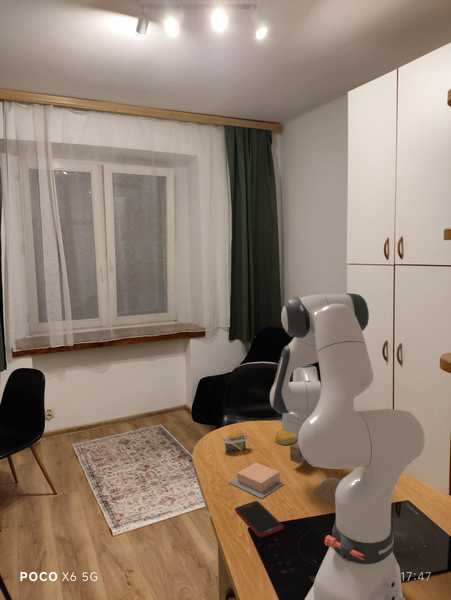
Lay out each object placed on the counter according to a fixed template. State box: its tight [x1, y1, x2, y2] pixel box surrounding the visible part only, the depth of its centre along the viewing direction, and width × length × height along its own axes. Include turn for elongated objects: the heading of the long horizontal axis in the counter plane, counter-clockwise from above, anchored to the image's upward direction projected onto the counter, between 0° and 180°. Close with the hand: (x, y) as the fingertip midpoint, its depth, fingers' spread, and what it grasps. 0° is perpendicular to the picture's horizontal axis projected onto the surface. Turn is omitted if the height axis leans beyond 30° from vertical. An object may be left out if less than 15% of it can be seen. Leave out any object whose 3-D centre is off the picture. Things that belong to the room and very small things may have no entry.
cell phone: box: [234, 500, 284, 539], centre depth 118 cm, size 8×15×1 cm, turn 26°
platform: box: [221, 432, 249, 452], centre depth 160 cm, size 12×18×7 cm, turn 105°
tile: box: [237, 462, 281, 493], centre depth 137 cm, size 3×10×9 cm
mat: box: [228, 476, 284, 500], centre depth 136 cm, size 10×14×1 cm
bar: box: [289, 441, 306, 464], centre depth 149 cm, size 16×4×5 cm, turn 134°
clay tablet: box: [313, 477, 341, 506], centre depth 129 cm, size 14×10×3 cm
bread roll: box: [274, 428, 297, 446], centre depth 167 cm, size 8×9×4 cm
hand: (308, 448), depth 149 cm, fingers closed on bar, 3 cm apart
